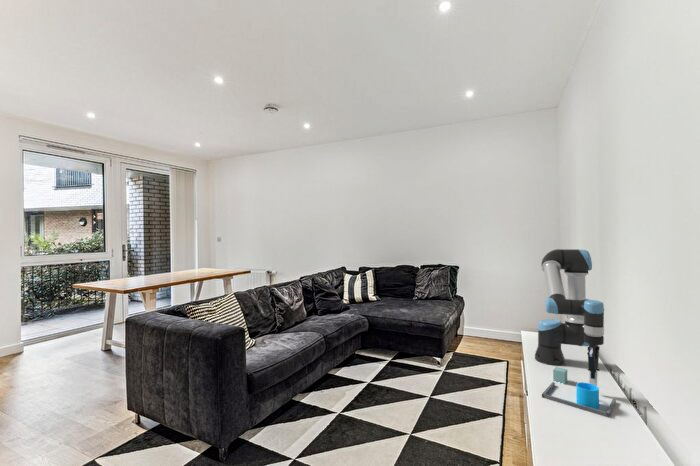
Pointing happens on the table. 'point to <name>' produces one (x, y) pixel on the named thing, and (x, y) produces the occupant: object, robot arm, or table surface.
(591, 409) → the tray frame
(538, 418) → the table surface
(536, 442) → the table surface
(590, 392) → the mug
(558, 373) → the block
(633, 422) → the table surface
